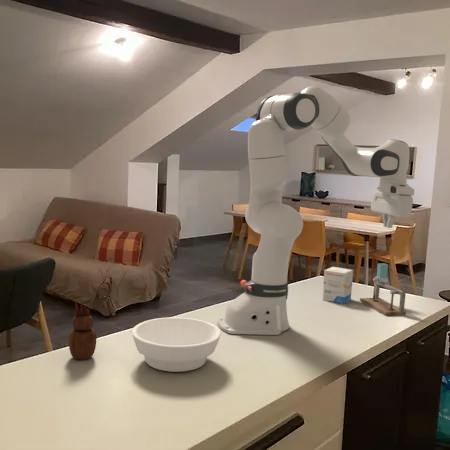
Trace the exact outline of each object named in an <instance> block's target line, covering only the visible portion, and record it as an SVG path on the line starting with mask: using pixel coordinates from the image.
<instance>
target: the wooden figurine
mask: <svg viewBox="0 0 450 450" xmlns="http://www.w3.org/2000/svg"><path fill="white" fill-rule="evenodd" d="M83 305H84V303H83V302H82V301H81V302H80V307H79V305H78V301H75V302H74V317H73V318H72V328H73V329H72V330H71V331H70V332H69V335H68V347H69V349H68V350H69V352H70V355H71V357H72V358H73V359H74V360H80V361H81V360H82V361H84V360H88V359H91V358H92V357H93V356H94V354H95V351H96V347H97V333H96V331H95V330H94V329H93V328H92V327H93V325H94V319H93V317H92V315H91V311H90V308H87V305H84V306H83Z"/></svg>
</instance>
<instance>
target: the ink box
mask: <svg viewBox="0 0 450 450" xmlns="http://www.w3.org/2000/svg"><path fill="white" fill-rule="evenodd" d="M323 272H324V273H323V285H322V286H323V288H322V289H323V290H322V300H323V301H328V302H332V303H337V304H338V303H339V304H343V305H345V304H347V302H350V301H351V300H352V292H353V291H352V289H353V277H354V269H349V268H343V267H338V266H337V267H336V266H331V267H329V268H327V269H324V270H323Z"/></svg>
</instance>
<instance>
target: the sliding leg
mask: <svg viewBox="0 0 450 450" xmlns="http://www.w3.org/2000/svg"><path fill="white" fill-rule="evenodd" d="M388 273H389V264H387V263H385V262H384V263H383V262H382V263H379V262H378V263H377V267H376V276H374V277H372V278H373V279H372V281H373V282H374V283H373V291H372V293H373V295H372V298H373V299H375V291H376V281H377V282H383V283H388V282H389V278H388Z"/></svg>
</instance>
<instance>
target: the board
mask: <svg viewBox="0 0 450 450" xmlns="http://www.w3.org/2000/svg"><path fill="white" fill-rule="evenodd" d="M380 287H382V288H384V289H386V290H388V291H390V295H391V297H390V302H389V301H386V300H384V299H382V298H380ZM406 294H407V293H406V292H405V291H403V290H402V289H401V290H400V289H398V288H397V287H394V286H392V285H389V284H387V282H377V281H376V291H375V299H373V297H360V298H359V302H360V301H361V303H362V302H363V303H362V304H364V305H366V306H367V305H368V306H367V307H369V306H370V307H369V308H371V309H373V310H374V311H376V312H378V313H380V314H381V315H383V316H385V317H389V316H390V317H391V316H393V317H394V316H406V315H407V311H406V310H405V305H406V303H405V302H406ZM394 295H399V304H398V305H399V307H398V306H396V305H394V297H395V296H394Z"/></svg>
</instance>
